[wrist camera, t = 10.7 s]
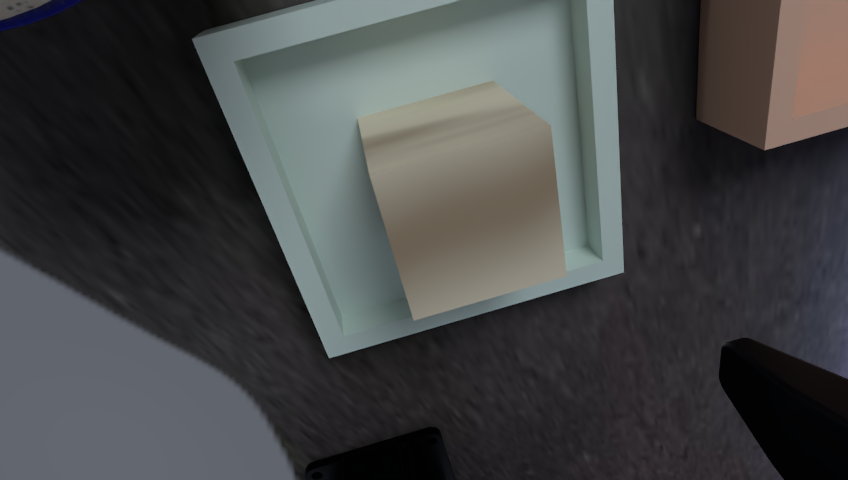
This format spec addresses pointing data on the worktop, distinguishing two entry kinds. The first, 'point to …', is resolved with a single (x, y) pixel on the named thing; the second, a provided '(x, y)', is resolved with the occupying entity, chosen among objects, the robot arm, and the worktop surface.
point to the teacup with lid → (30, 11)
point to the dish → (773, 69)
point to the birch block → (466, 196)
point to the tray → (395, 86)
